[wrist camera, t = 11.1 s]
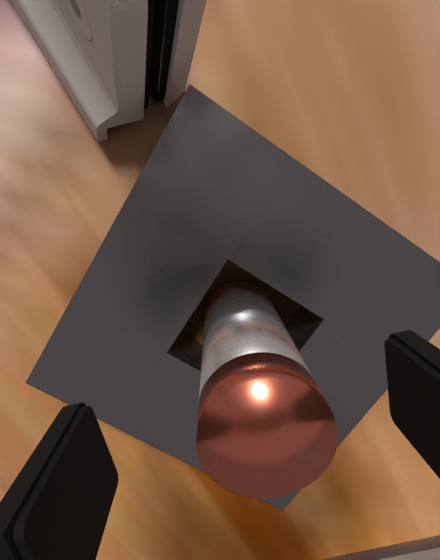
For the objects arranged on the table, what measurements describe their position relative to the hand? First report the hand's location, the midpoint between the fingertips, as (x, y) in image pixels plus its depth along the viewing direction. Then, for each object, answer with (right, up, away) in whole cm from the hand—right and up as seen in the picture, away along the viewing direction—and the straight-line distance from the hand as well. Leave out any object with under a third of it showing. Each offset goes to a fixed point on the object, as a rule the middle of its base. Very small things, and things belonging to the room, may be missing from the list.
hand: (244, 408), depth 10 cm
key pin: (0, +2, +9) cm, 9 cm away
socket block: (0, +2, +9) cm, 9 cm away
